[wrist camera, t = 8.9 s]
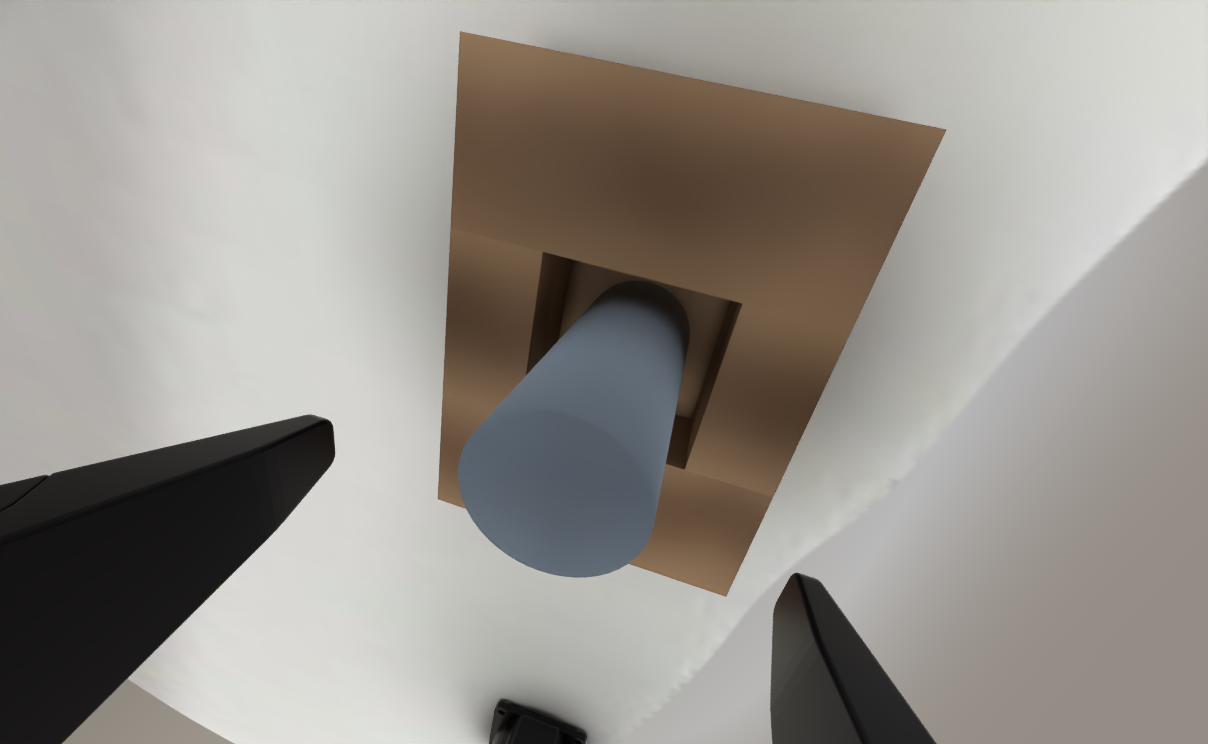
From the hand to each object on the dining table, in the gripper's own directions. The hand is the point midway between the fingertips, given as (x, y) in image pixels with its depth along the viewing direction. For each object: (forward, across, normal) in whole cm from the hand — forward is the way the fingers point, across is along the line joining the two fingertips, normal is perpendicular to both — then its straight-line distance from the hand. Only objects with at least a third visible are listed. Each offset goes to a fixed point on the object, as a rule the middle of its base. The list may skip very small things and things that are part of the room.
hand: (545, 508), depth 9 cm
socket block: (+11, 0, 0) cm, 11 cm away
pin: (+10, 0, 0) cm, 10 cm away
